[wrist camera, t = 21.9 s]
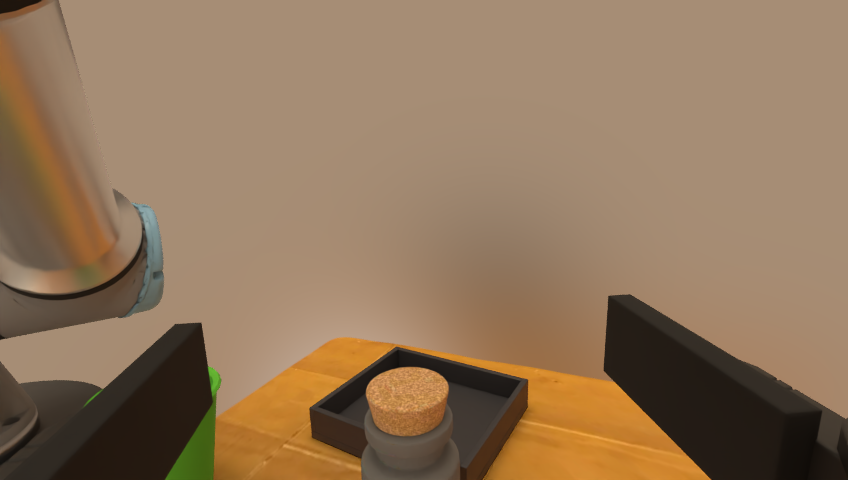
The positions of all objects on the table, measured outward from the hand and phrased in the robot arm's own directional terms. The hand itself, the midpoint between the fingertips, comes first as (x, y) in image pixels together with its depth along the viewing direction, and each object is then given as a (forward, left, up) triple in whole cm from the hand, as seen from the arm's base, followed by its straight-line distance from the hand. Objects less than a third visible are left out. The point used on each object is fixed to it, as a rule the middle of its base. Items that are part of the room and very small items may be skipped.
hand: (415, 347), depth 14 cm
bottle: (-6, +8, -22) cm, 24 cm away
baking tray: (-15, +24, -22) cm, 36 cm away
